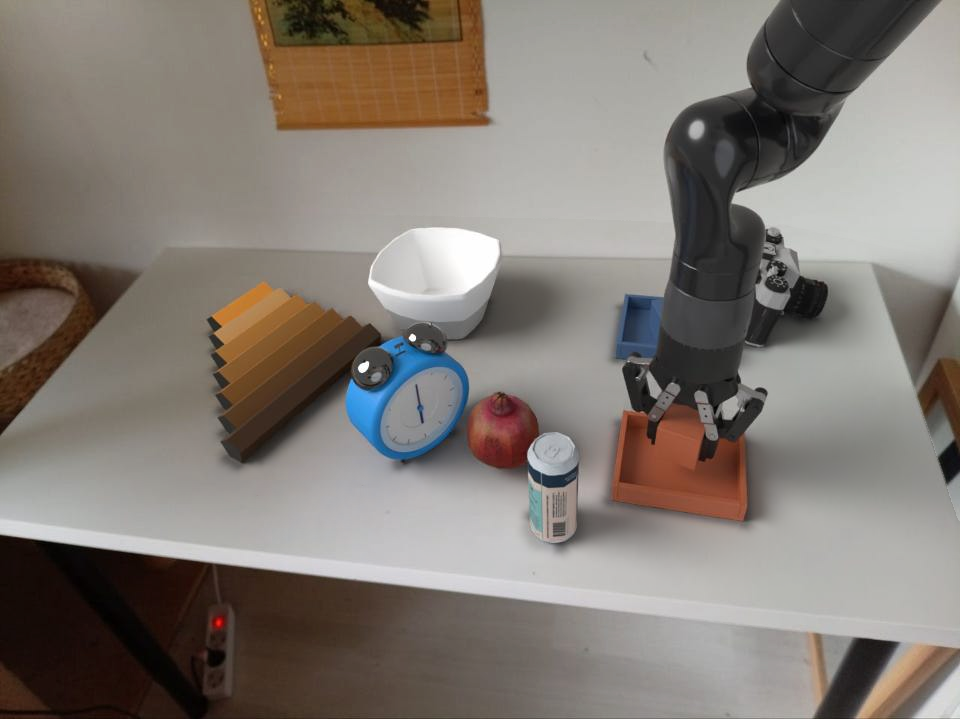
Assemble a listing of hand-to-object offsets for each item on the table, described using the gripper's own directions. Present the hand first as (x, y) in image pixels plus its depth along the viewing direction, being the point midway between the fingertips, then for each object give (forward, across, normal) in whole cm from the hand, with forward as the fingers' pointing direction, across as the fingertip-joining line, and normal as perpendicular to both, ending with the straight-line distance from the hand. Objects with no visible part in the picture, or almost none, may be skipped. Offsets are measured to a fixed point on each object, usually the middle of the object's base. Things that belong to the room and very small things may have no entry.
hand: (680, 447), depth 72 cm
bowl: (+4, -39, +14) cm, 41 cm away
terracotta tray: (+4, 0, 0) cm, 4 cm away
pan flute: (+4, -56, -7) cm, 56 cm away
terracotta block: (0, 0, 0) cm, 0 cm away
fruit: (+4, -18, -6) cm, 19 cm away
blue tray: (+4, -8, +22) cm, 24 cm away
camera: (+4, +4, +32) cm, 33 cm away
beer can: (+4, -9, -12) cm, 16 cm away
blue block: (+3, -8, +22) cm, 23 cm away
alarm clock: (+4, -29, -8) cm, 30 cm away
